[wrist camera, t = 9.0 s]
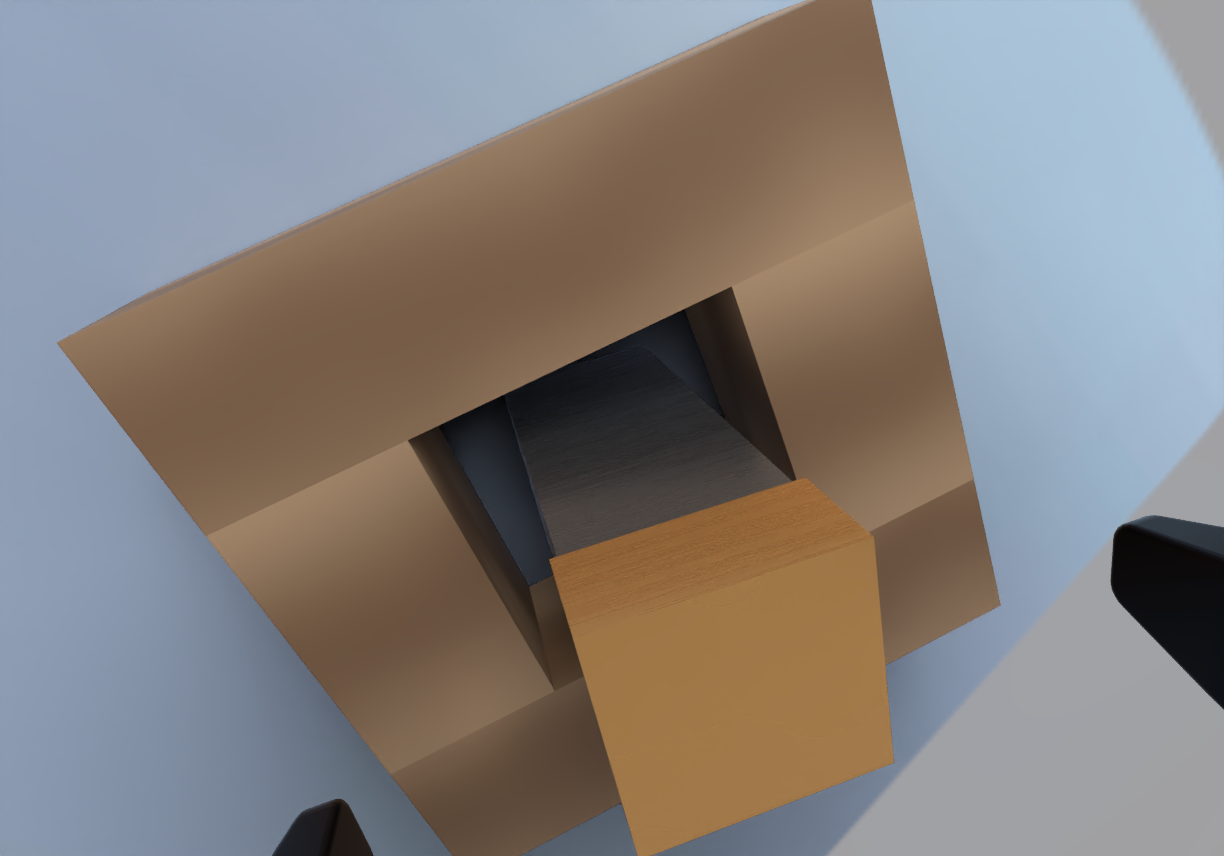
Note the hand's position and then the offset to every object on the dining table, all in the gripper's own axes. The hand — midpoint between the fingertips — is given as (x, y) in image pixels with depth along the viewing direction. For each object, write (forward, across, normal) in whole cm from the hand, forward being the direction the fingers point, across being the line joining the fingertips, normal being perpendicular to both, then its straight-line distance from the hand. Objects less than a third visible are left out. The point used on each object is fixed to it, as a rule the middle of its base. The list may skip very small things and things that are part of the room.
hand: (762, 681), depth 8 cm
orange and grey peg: (+8, 0, 0) cm, 8 cm away
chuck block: (+8, 0, 0) cm, 8 cm away
